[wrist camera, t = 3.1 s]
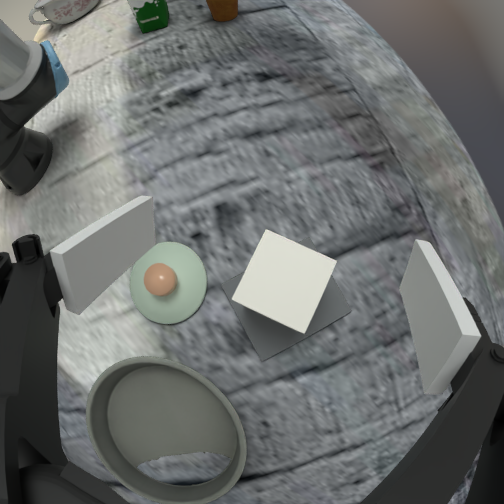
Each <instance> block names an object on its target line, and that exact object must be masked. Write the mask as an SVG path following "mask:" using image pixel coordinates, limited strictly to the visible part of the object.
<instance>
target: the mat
mask: <svg viewBox="0 0 504 504" xmlns="http://www.w3.org/2000/svg"><path fill="white" fill-rule="evenodd" d="M298 244H300V245H303V246H305V247H307V248H309V249H311V250H314V251H316V252H318V251H317V249H316V247H315V246H314V244H313V242H312V241H311V239H310V237H307V238H306V239H304V240H302V241H300V242H298ZM318 253H319V252H318ZM244 273H245V272H243V273H241V274H239V275H237V276H235V277H234V278H232V279H230V280H228V281H226V282H224V283H222V284H221V286H222V288H223V290H224V291H225V293H226V295H227V297H228V299H229V301H230V303H231V305H232V307H233V309H234V311H235V313H236V315H237V316H238V318H239V320H240V322H241V324H242V326H243V328H244V330H245V331H246V333H247V335H248V337H249V339H250V341H251V343H252V344H253V346H254V348H255V350H256V352H257V354H258V355H259V357H260V359H261V361H264V360H266V359H268V358H270V357H272V356H273V355H275V354H277V353H279V352H281V351H283V350H285V349H287V348H289V347H290V346H292V345H294V344H296V343H298V342H299V341H301V340H303V339H305V338H307V337H308V336H310V335H312V334H314V333H315V332H317V331H319V330H321V329H322V328H324V327H326V326H328V325H329V324H331V323H333V322H334V321H336V320H338V319H339V318H341V317H343V316H344V315H346V314H347V313H349V312H351V311H352V310H351V308H350V306H349V305H348V303H347V301H346V299H345V298H344V296H343V294H342V292H341V290H340V289H339V287H338V285H337V283H336V282H335V280H334V278H333V276H332V275H331V276H330V279H329V281H328V283H327V285H326V288H325V290H324V292H323V295H322V297H321V299H320V301H319V303H318V306H317V308H316V310H315V312H314V314H313V317H312V319H311V321H310V323H309V325H308V327H307V329H306V332H305V334H304V333H301V332H298V331H296V330H294V329H292V328H289V327H287V326H285V325H283V324H281V323H279V322H276V321H274V320H272V319H270V318H268V317H266V316H264V315H262V314H260V313H257V312H255V311H253V310H251V309H249V308H247V307H245V306H243V305H241V304H239V303H237V302H236V301H234V300H232V297H233V295H234V293H235V291H236V289H237V287H238V285H239V283H240V281H241V279H242V277H243V275H244Z"/></svg>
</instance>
